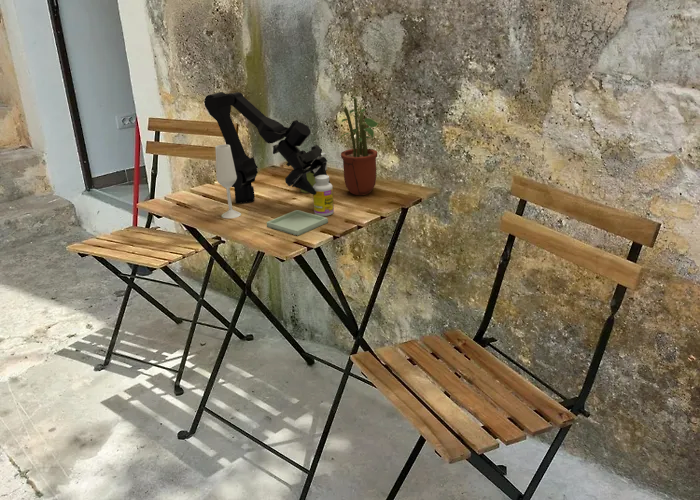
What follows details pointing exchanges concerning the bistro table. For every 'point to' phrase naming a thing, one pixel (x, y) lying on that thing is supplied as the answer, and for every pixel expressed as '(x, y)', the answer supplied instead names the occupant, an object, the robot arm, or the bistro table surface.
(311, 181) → the plant pot
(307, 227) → the tray
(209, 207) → the bistro table surface
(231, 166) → the champagne flute
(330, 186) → the supplement bottle
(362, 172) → the potted plant
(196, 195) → the bistro table surface
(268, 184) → the bistro table surface
